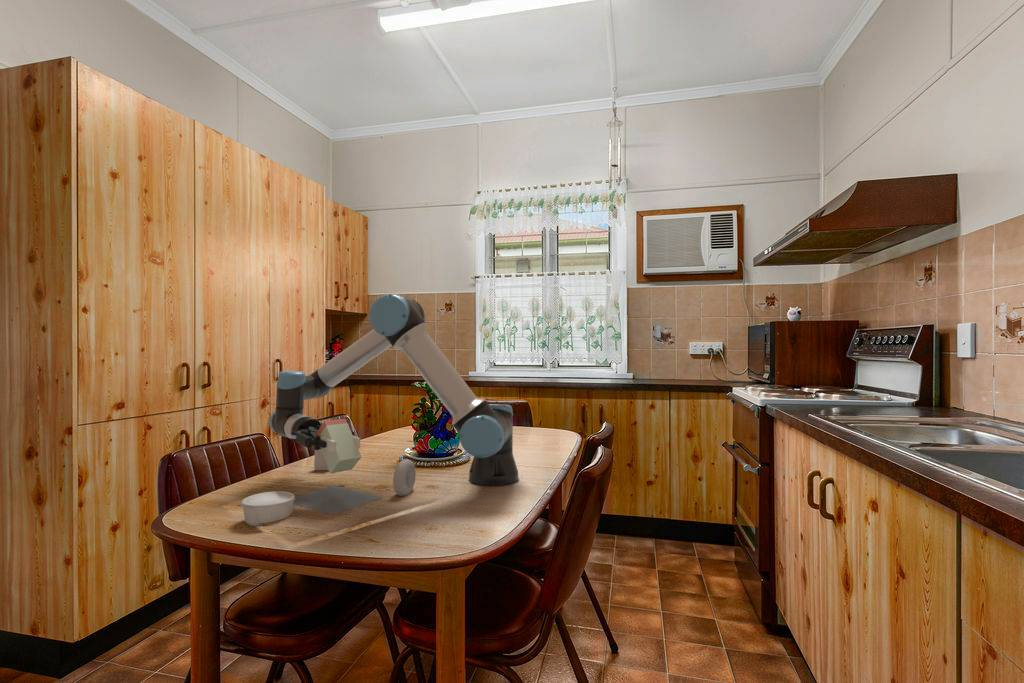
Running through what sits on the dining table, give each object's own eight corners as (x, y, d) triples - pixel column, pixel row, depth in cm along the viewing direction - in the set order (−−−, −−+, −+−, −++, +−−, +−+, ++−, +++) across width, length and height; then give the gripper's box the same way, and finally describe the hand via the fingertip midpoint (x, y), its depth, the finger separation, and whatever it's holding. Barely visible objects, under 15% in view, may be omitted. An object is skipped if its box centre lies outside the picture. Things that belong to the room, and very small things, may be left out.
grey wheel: (402, 502, 130) (402, 464, 130) (390, 501, 130) (390, 463, 130) (417, 491, 140) (417, 455, 140) (406, 490, 140) (406, 455, 140)
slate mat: (382, 500, 131) (382, 497, 131) (332, 519, 117) (332, 514, 117) (333, 488, 142) (333, 485, 142) (281, 504, 128) (281, 500, 128)
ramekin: (305, 516, 120) (305, 494, 120) (265, 532, 110) (265, 508, 110) (271, 509, 124) (272, 488, 124) (230, 524, 114) (230, 501, 114)
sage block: (330, 473, 125) (315, 434, 130) (351, 469, 129) (336, 431, 135) (340, 460, 122) (324, 420, 127) (361, 456, 126) (345, 418, 132)
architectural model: (319, 469, 166) (319, 446, 166) (338, 470, 164) (338, 447, 164) (313, 471, 162) (313, 449, 162) (333, 472, 161) (333, 449, 161)
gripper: (334, 438, 148) (378, 454, 133) (269, 447, 134) (310, 466, 118) (335, 413, 148) (380, 426, 132) (270, 419, 133) (311, 435, 118)
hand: (347, 445), depth 125 cm, fingers closed on sage block, 6 cm apart
